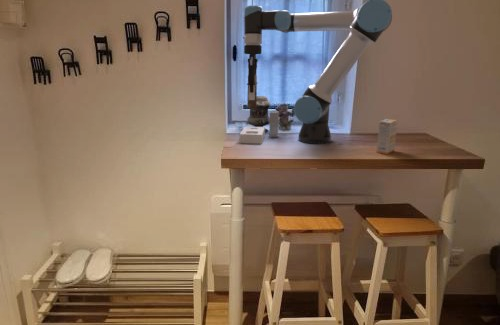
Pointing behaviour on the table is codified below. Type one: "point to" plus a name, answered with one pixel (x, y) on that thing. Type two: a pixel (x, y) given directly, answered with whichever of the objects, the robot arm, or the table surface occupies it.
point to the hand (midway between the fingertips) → (252, 99)
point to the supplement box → (386, 136)
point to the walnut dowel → (253, 102)
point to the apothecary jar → (260, 113)
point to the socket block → (252, 135)
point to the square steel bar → (273, 124)
